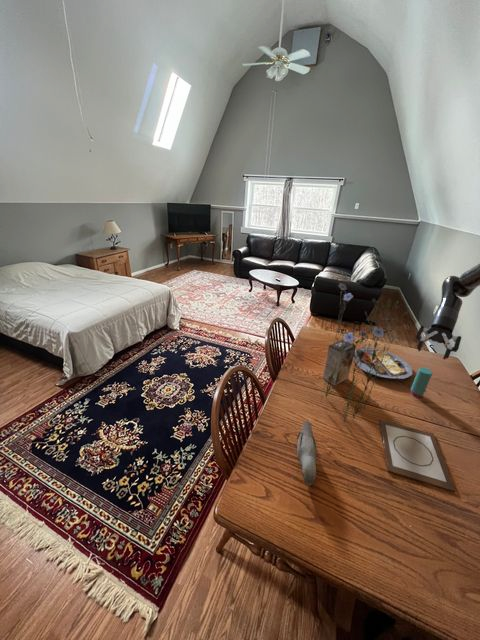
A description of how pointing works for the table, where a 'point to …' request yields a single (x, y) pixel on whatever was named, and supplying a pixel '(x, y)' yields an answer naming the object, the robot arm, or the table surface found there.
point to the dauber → (421, 382)
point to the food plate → (383, 363)
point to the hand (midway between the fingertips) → (431, 354)
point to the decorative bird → (307, 453)
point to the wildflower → (349, 339)
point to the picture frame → (414, 455)
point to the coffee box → (343, 365)
